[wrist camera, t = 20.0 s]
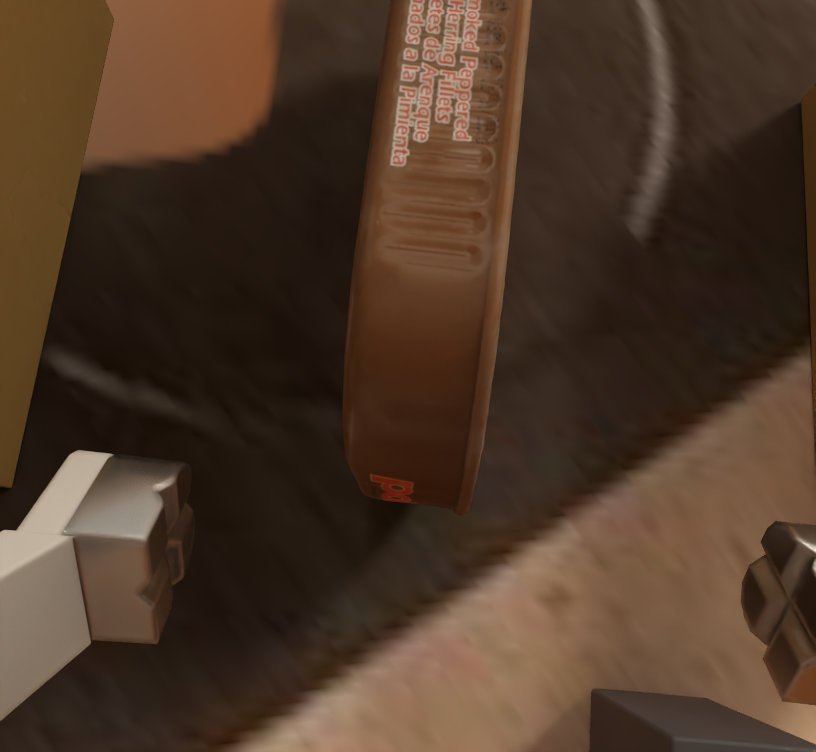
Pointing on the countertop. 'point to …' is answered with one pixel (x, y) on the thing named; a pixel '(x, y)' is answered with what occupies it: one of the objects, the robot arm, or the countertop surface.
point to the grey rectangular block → (679, 726)
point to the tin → (433, 248)
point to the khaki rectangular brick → (811, 212)
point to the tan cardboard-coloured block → (39, 178)
